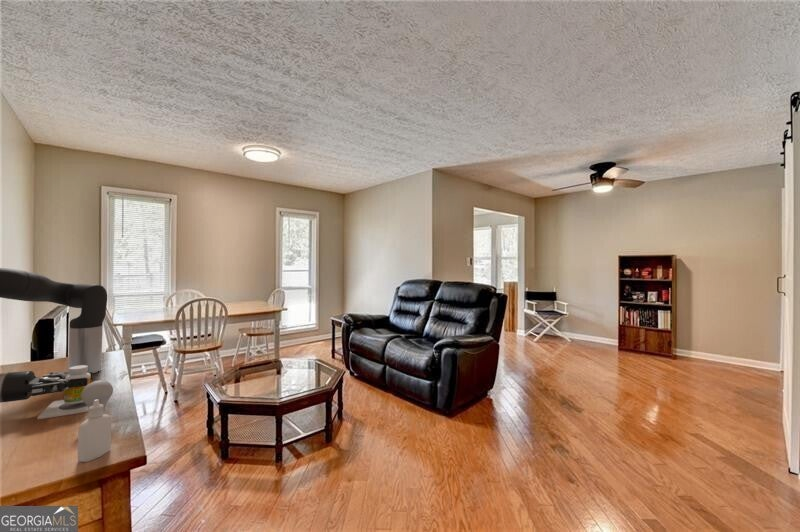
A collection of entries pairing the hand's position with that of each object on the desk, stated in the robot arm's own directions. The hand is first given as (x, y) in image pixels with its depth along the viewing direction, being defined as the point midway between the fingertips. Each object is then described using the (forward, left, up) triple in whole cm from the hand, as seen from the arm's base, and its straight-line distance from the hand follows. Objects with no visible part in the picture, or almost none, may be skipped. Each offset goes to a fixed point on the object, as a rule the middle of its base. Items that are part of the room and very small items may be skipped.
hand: (89, 378), depth 99 cm
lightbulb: (+16, +4, -8) cm, 18 cm away
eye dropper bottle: (+35, +7, -8) cm, 37 cm away
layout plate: (0, -3, -8) cm, 8 cm away
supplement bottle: (0, -3, -6) cm, 7 cm away
